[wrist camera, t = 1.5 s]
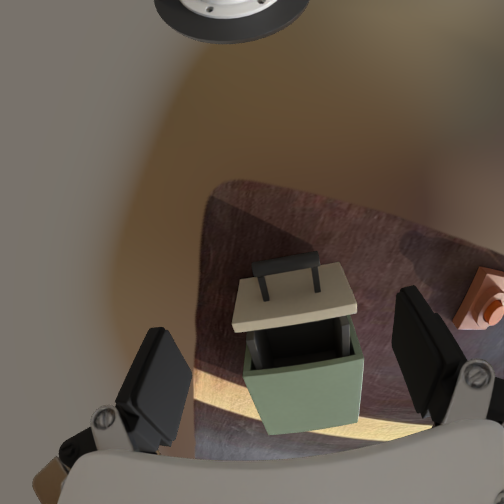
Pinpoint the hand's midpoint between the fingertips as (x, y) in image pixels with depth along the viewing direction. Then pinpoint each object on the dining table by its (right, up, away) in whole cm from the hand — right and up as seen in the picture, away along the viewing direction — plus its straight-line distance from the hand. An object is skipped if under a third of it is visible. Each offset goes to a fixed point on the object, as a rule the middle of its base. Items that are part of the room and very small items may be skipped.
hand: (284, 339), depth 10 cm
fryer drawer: (+4, -3, +22) cm, 23 cm away
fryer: (+6, -11, +27) cm, 30 cm away
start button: (+35, -5, +18) cm, 40 cm away
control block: (+35, -4, +22) cm, 41 cm away
